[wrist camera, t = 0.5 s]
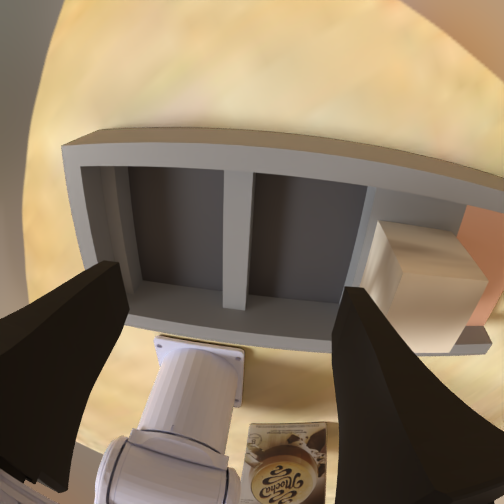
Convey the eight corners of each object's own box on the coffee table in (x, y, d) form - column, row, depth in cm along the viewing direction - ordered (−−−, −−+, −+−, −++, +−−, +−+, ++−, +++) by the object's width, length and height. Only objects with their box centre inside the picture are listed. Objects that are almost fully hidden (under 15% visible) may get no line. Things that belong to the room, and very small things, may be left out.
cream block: (425, 297, 19) (449, 352, 15) (357, 291, 19) (370, 351, 15) (451, 231, 16) (488, 281, 12) (378, 220, 16) (403, 272, 12)
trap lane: (469, 320, 22) (485, 354, 19) (121, 286, 24) (99, 319, 21) (525, 185, 15) (558, 210, 12) (98, 129, 17) (61, 145, 14)
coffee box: (326, 420, 31) (324, 552, 18) (326, 441, 35) (323, 555, 21) (247, 422, 33) (227, 549, 20) (257, 443, 36) (241, 552, 23)
